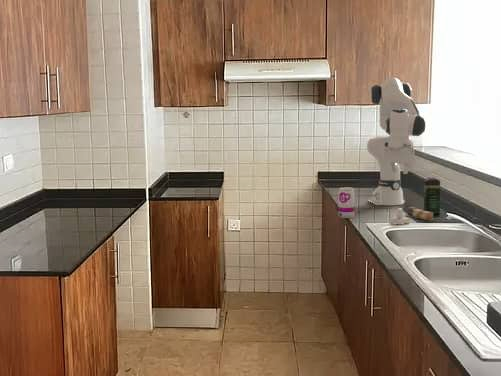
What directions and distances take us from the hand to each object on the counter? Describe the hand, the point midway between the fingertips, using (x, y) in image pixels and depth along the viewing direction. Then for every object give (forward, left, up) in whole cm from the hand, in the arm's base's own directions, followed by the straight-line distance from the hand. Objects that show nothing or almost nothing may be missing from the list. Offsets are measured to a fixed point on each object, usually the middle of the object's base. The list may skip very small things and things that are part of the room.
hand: (399, 173), depth 273 cm
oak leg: (-8, +17, -24) cm, 30 cm away
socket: (0, 0, -24) cm, 24 cm away
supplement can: (-28, -13, -24) cm, 39 cm away
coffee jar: (-14, +29, -24) cm, 40 cm away
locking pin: (0, 0, -24) cm, 24 cm away
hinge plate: (-8, +17, -24) cm, 31 cm away
